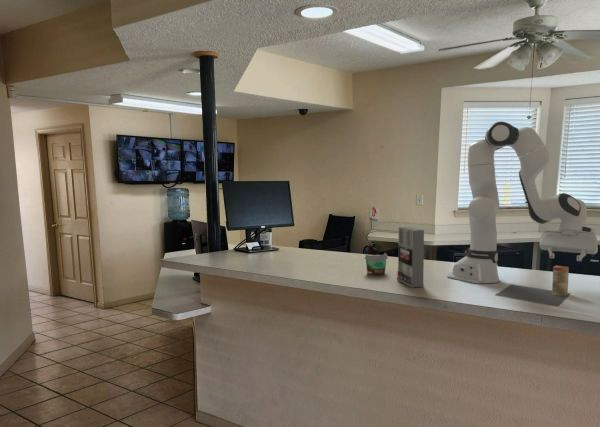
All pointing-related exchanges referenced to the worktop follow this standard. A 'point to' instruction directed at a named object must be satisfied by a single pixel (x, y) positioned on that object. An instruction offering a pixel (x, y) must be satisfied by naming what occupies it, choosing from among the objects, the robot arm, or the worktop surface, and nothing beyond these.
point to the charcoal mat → (532, 295)
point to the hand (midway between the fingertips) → (564, 258)
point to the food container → (376, 264)
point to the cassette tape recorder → (410, 256)
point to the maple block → (560, 280)
